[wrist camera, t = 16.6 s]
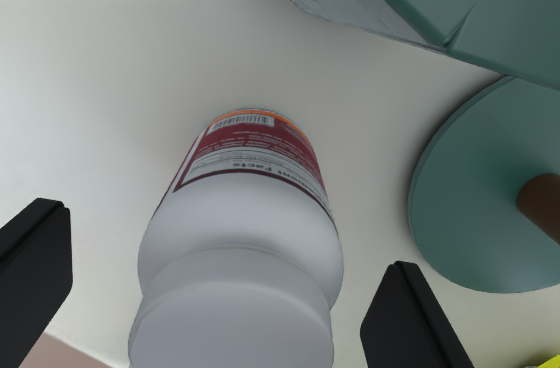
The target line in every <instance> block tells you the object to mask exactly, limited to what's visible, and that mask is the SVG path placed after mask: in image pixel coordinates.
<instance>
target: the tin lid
mask: <svg viewBox="0 0 560 368" xmlns="http://www.w3.org/2000/svg"><path fill="white" fill-rule="evenodd" d="M407 211H408V222H409V227H410V231H411V234H412V237H413V239H414V242H415V244H416V245H417V247H418V249H419V251H420V252H421V254H422V256H423V257H424V259H425V260H426V261H427V262H428V263H429V265H430V266H431V267H432V268H433V269H434V270H436V271H437V272H438V273H439V274H440V275H442V276H443V277H445V278H447V279H448V280H450V281H452V282H454V283H456V284H458V285H461V286H463V287H466V288H469V289H473V290H477V291H483V292H489V293H521V292H527V291H534V290H539V289H543V288H547V287H551V286H554V285H557V284H560V91H558V90H555V89H551V88H548V87H545V86H542V85H538V84H535V83H532V82H529V81H525V80H522V79H519V78H516V77H512V76H506V77H504V78H502V79H500V80H499V81H497V82H495V83H493V84H492V85H490V86H488V87H486V88H485V89H483V90H482V91H480V92H479V93H478V94H476V95H475V96H473V97H472V98H471V99H469V100H468V101H467V102H466V103H464V104H463V105H462V106H461V107H460V108H459V109H458V110H457V111H455V112H454V113H453V114H452V115H451V116H450V117H449V118H448V120H447V121H446V122H445V123H444V124H443V125H442V126H441V127H440V128H439V130H438V131H437V132H436V134H435V135H434V136H433V138H432V139H431V141H430V142H429V143H428V145H427V147H426V148H425V150H424V152H423V154H422V156H421V157H420V159H419V161H418V164H417V166H416V169H415V171H414V174H413V177H412V180H411V184H410V188H409V194H408V203H407Z"/></svg>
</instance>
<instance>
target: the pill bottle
mask: <svg viewBox="0 0 560 368" xmlns="http://www.w3.org/2000/svg"><path fill="white" fill-rule="evenodd" d="M343 272H344V264H343V254H342V249H341V244H340V241H339V237H338V232H337V229H336V226H335V222H334V219H333V216H332V211H331V208H330V204H329V201H328V198H327V194H326V191H325V187H324V184H323V181H322V177H321V173H320V170H319V166H318V163H317V159H316V156H315V153H314V150H313V148H312V146H311V144H310V142H309V141H308V139H307V137H306V136H305V135H304V133H303V132H302V131H301V130H300V129H299V128H298V127H297V126H296V125H295V124H294V123H292V122H291V121H290V120H288V119H286V118H285V117H283V116H281V115H279V114H276V113H274V112H270V111H266V110H260V109H242V110H236V111H233V112H229V113H227V114H224V115H222V116H220V117H219V118H217V119H215V120H214V121H213V122H211V123H210V124H209V125H208V126H207V127H206V128H205V129H204V130H203V131H202V132H201V133H200V134H199V136H198V137H197V139H196V140H195V142H194V143H193V145H192V147H191V149H190V150H189V152H188V154H187V156H186V157H185V159H184V161H183V163H182V165H181V166H180V168H179V170H178V172H177V174H176V175H175V177H174V179H173V181H172V182H171V184H170V186H169V188H168V190H167V192H166V193H165V195H164V197H163V198H162V200H161V202H160V204H159V206H158V207H157V209H156V211H155V212H154V214H153V216H152V218H151V220H150V222H149V224H148V227H147V229H146V231H145V233H144V235H143V238H142V241H141V244H140V248H139V254H138V277H139V282H140V286H141V290H142V293H143V296H144V297H143V299H142V302H141V304H140V307H139V310H138V313H137V315H136V318H135V320H134V323H133V325H132V328H131V331H130V334H129V340H128V356H129V360H130V364H131V367H132V368H332V365H333V361H334V344H333V337H332V329H331V321H330V313H329V311H330V310H331V308H332V307H333V305H334V303H335V301H336V299H337V297H338V294H339V291H340V289H341V285H342V281H343Z"/></svg>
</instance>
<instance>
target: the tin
mask: <svg viewBox="0 0 560 368" xmlns="http://www.w3.org/2000/svg"><path fill="white" fill-rule="evenodd" d="M291 1H292V2H293V3H294V4H295V5H296V6H297V7H299V8H300V9H301V10H302V11H304V12H305V13H309V14H312V15H315V16H318V17H322V18H325V19H328V20H331V21H334V22H338V23H341V24H344V25H347V26H351V27H354V28H357V29H360V30H364V31H367V32H370V33H373V34H376V35H380V36H383V37H386V38H389V39H393V40H396V41H399V42H402V43H405V44H409V45H412V46H415V47H418V48H422V49H425V50H428V51H431V52H435V53H438V54H441V55H444V56H447V57H451V58H454V59H457V60H460V61H464V62H467V63H470V64H473V65H477V66H480V67H483V68H486V69H490V70H493V71H496V72H499V73H503V74H506V75H509V76H512V77H516V78H519V79H522V80H525V81H529V82H532V83H535V84H538V85H542V86H545V87H548V88H551V89H555V90H558V91H560V0H291Z"/></svg>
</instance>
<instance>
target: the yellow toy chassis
mask: <svg viewBox="0 0 560 368" xmlns="http://www.w3.org/2000/svg"><path fill="white" fill-rule="evenodd" d="M524 368H560V354H558V355H557V356H555V357H553V358H552V359H550V360H548V361H547V362H545V363H543V364H542V365H540V366H527V367H524Z"/></svg>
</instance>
